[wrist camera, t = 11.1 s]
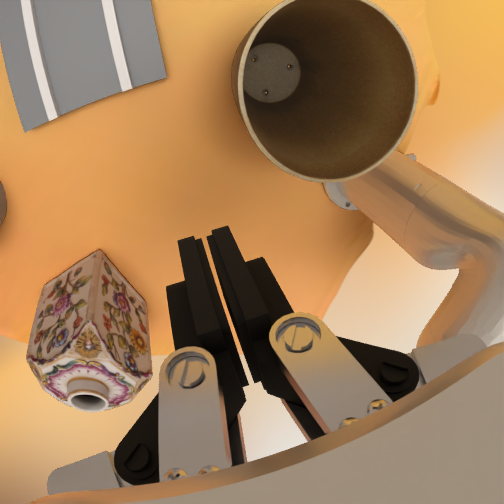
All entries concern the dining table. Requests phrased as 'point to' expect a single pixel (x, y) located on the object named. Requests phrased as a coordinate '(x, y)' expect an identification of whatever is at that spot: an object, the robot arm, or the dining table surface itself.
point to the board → (76, 53)
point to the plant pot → (325, 87)
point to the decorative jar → (91, 337)
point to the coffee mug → (2, 204)
